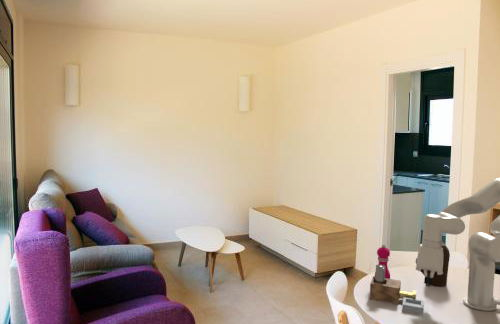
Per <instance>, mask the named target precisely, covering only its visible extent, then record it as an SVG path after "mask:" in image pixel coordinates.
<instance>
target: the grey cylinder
mask: <svg viewBox="0 0 500 324" xmlns="http://www.w3.org/2000/svg"><path fill="white" fill-rule="evenodd" d="M375 272H376V277H375V283H381V284H385V266H384V265H379V264H376V265H375Z"/></svg>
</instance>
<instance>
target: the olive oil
mask: <svg viewBox="0 0 500 324" xmlns="http://www.w3.org/2000/svg"><path fill="white" fill-rule="evenodd" d="M442 248H443V269H442V270H443V274H441V275H436V276H434V277H433V278H432V285H431V284H430V286H433V287H438V288H444V287H446V286H447V283H448V276H449V275H448V273H449V267H450V266H449V265H450V264H449V263H450V257H451V256H450V254H451V253H450V250H449V248H448V246H446V245H445V246H442ZM430 273H431V271H430V270H427V274H428V279H429V275H430Z"/></svg>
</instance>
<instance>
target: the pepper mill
mask: <svg viewBox="0 0 500 324" xmlns="http://www.w3.org/2000/svg"><path fill="white" fill-rule="evenodd" d="M386 246H387V245H386V244H385V243H384V244H382V245H381V247H379V248H378V249H377V250H376V254H377V261H378V265H384V266H385V278H388V279H391V273H390V270H389V268H388V262H389V261H390V260H389V257H390V256H391V251H390V249H389V248H387V247H386ZM374 276H375V277H376V271H375V273H374Z"/></svg>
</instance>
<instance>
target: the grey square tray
mask: <svg viewBox="0 0 500 324" xmlns="http://www.w3.org/2000/svg"><path fill="white" fill-rule="evenodd" d="M424 305H425V301H424V300H422V299H417V298H416V299H411V298H406V297H404V299H403V300H402V309H401V311H403V312H407V311H408V313H412V312H413V313H414V314H418V315H424V308H425V307H424Z"/></svg>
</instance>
